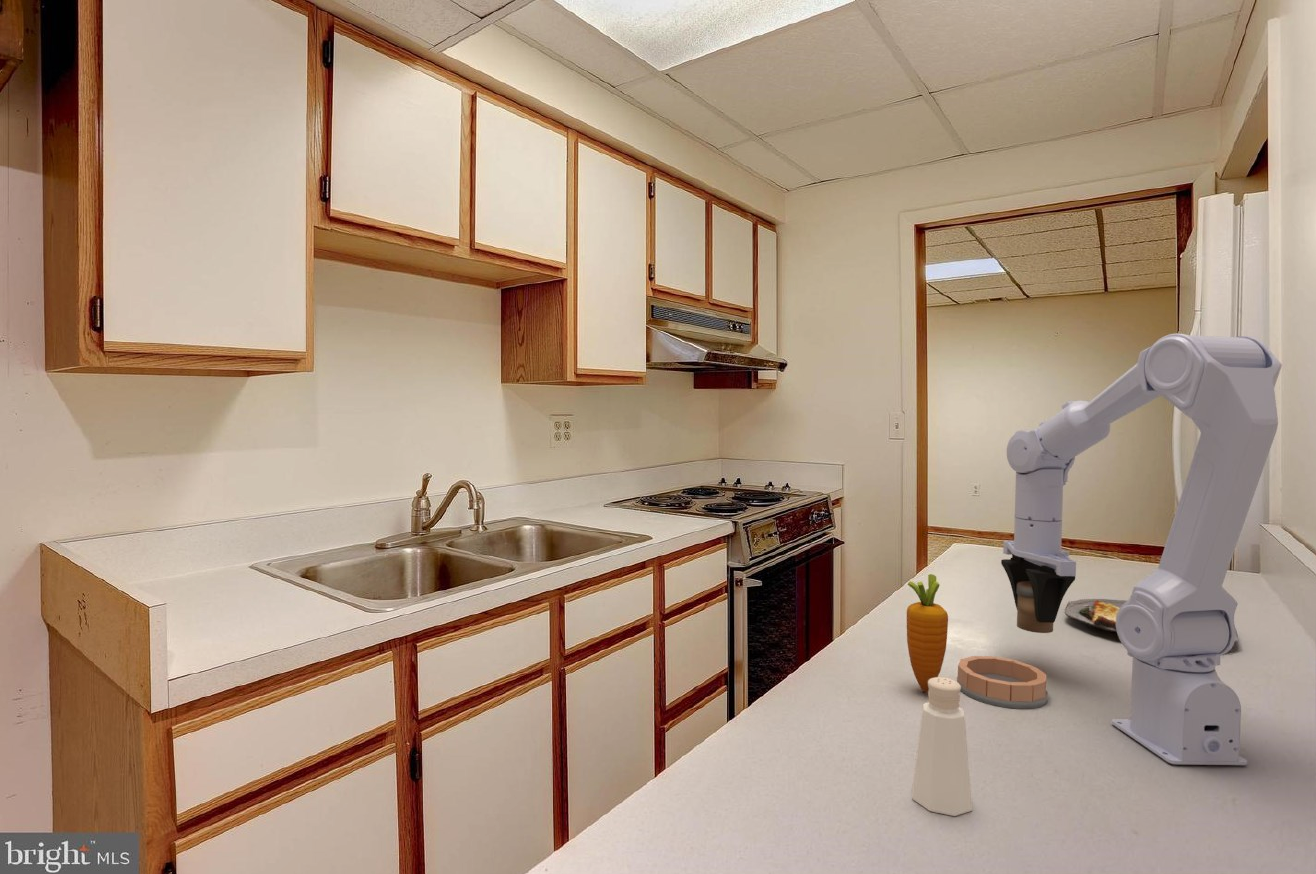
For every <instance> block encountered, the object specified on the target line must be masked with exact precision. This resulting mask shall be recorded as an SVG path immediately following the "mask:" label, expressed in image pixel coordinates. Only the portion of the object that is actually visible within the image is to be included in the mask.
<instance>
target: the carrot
mask: <svg viewBox="0 0 1316 874" xmlns="http://www.w3.org/2000/svg"><path fill="white" fill-rule="evenodd" d="M927 577H928V578H927V580H928V581H927V582H928V583H927V585H928V588H925V586H924V584H923V581H917V582H916V583H917V584H916V583H915V582H914V581H911V580H910V581H908V583H907V585H908V586H909V587H910V588H911V589H913V591H914V592H915V594H916V595H917V596H918V598H919V601H917V602H914V603H912V604H909V605H908V606H907V609H906V641H907V642H906V643H907V649H908V650H907V651H908V656H909V661H910V665H911V669H912V672H913V675H914V677H915V679H916V681H917V684H918V686H919V688H920V689H921V690H922V692H923V693H929V692H928V690H929V687H928V680H929V679H931V678H935V677H939V675H940V673H941V670H942V668H943V663H944V659H945V655H946V650H947V641H948V639H947V638H948V628H949V615H948V612H947V611H946V610H945V608H943V607H942V606H941V605H940V604H938V603H934V601H935V596H936V594H937V592H938V590H939V587H940V582H938V581H937V576H936V574H934V573H930V574H928V576H927Z"/></svg>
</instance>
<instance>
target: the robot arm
mask: <svg viewBox="0 0 1316 874" xmlns="http://www.w3.org/2000/svg"><path fill="white" fill-rule="evenodd" d="M1282 366H1283V365H1282V363H1281V362H1280V360H1279V359H1278V358H1277V357H1276V356H1275V354H1273V352H1272V351H1271V349H1270V348H1269V347H1268V346H1267V345H1266V344H1265V343H1264V342H1263V341H1261V340H1260V339H1258V338H1256V337H1253V336H1248V335H1246V336H1245V335H1237V336H1234V337H1233V336H1215V335H1213V336H1211V335H1209V336H1208V335H1191V334H1190V335H1188V334H1186V333H1169V334H1167V335H1165V336H1162V337H1161V338H1159V339H1157V340H1156V341H1155V342H1154V343H1153V344H1152V346H1149V347H1147V348H1146V349H1143V350H1141V351H1140V352H1139V356H1138V359H1137V363H1135V364H1134V366H1132V367H1131V368H1129V369H1128V370H1127V371H1126V372H1124V373H1123V374H1122V375H1120V377H1118V378H1117V379H1116V380H1115V381H1113V382H1112V383H1111V384H1109V386H1107V387H1106V388H1105V389H1104V390H1102V392H1100V393H1099V394H1097V396H1095V397H1093V399H1091V400H1090V401H1087V400H1076V401H1070V400H1069V401H1066V402H1065V403H1064V404H1062V405H1061V407H1062V408H1061V409H1062V410H1059V412H1057V413H1056V414H1055V415H1053V416H1051V417H1050V418H1048V419H1047V420H1043V421H1042V422H1040V423H1038V427H1036V428H1035V429H1031V430H1025V429H1022V430H1021V429H1020V430H1016V432H1014V434H1013V435H1012V436H1011V437H1010V438H1009V440H1008V443H1007V446H1006V459H1007V462H1008V464H1009V466H1010V467H1011V468H1012V470H1013V471H1014V472H1015V491H1014V492H1015V498H1014V502H1015V503H1014V530H1013V531H1014V533H1013V536H1014V537H1013V540H1003V549H1002V551H1003V554H1005V555H1008V556H1009V555H1011V557H1010V559H1009V558H1007V559H1004V558H1003V559H1001V560H1000V561H1001V562H1000V563H1001V566H1002V567H1003V569H1004V571H1005V574H1006V575H1007V578H1008V580H1009V584H1010V588H1011V590H1012V594H1013V598H1014V605H1015V607H1016V609H1017V603H1018V594H1017V583H1018V582H1021V581H1030V583H1031V586H1032V590H1033V595H1034V606H1035V615H1036V619H1037V621H1038V622H1043V623H1053V624H1054V623H1055V621H1056V619H1057V617H1058V613H1059V611H1060V610H1059V609H1060V606H1061V604H1062V601H1063V599H1064V597H1065V595H1066V593H1067V591H1068V589H1069V588H1070V587H1071V586H1072V584H1073V583H1074V582H1075V580H1076V576H1077V561H1075V560H1074V559H1071V558H1069V556H1070V552H1069V551H1068V550H1065V549H1063V548H1062V539H1063V537H1062V536H1063V529H1062V528H1063V502H1064V501H1063V497H1064V486H1065V485H1066V483H1067V482H1068V474H1069V471H1070V470H1071V468H1072V467H1073V465H1074V462H1075V460H1076V457H1077V456H1079V455H1080V454H1082V453H1083V452H1085V451H1087V450H1089V449H1090V448H1092V447H1093V446H1095V445H1096V444H1098V443H1100V442H1101V441H1103V440H1104V439H1106V438H1107V437H1108V436H1109V434H1110V430H1111V424H1112V423H1114V422H1115V421H1118V420H1120V419H1122V418H1123V417H1125V416H1127V415H1129V414H1131V413H1132V412H1134V411H1136V410H1138V409H1139V408H1142V407H1143V406H1145V405H1147V404H1149V403H1151V402H1153V401H1154V400H1156V399H1157V398H1159V397H1161V396H1162V397H1163V398H1164V399H1165V400H1166V401H1168V402H1169V403H1170V404H1172V405H1173V406H1174V407H1175V408H1176V409H1178V410H1179V411H1181V412H1182V413H1183V414H1184V415H1186V416H1187V417H1188V418H1189V419H1191V420H1192V422H1193V423H1194V424H1195V426H1196V427H1197V429H1198V430H1199V432H1200V435H1199V439H1198V442H1197V445H1196V448H1195V451H1194V453H1193V457H1192V460H1191V463H1190V466H1189V470H1188V472H1187V477H1186V479H1185V482H1184V486H1183V489H1182V491H1181V495H1180V498H1179V501H1178V504H1177V508H1176V510H1175V513H1174V517H1173V520H1172V524H1171V527H1170V528H1169V533H1168V535H1167V539H1166V541H1165V545H1164V548H1163V552H1162V554H1161V557H1160V561H1159V564H1158V567H1157V568H1156V569H1155V570H1154V571H1153V572H1152V573H1150V574H1149V575H1147V576H1145V577H1144V578H1143V579H1141V580H1140V581H1139V582H1137V583H1136V584H1135V585H1134V586H1133V588H1132V591H1131V592H1132V593H1131V595H1130V597H1129V598H1128V599H1127V602H1126V603H1124V604H1123V605H1122V606H1121V607H1120V609H1119V610H1118V612H1117V616H1116V630H1117V632H1116V633H1117V637H1118V639H1119V641H1120V642H1121V644H1122V646H1123V647H1124V649H1125V650H1126V651H1127V652H1126V653H1127V656H1129V657H1130V658H1131V657H1132V661H1131V664H1132V665H1131V690H1130V692H1131V694H1130V717H1129V718H1130V719H1128V718H1127V719H1126V718H1123V719H1122V718H1119V719H1118V718H1113V719H1111V722H1110V723H1111V725H1113V726H1114V727H1116V728H1118V729H1119V730H1121V732H1123V733H1125V734H1126V735H1128V736H1129V737H1131V738H1132V739H1134V740H1135V741H1136V742H1138V743H1140V745H1142V746H1143V747H1145V748H1146V749H1148V750H1149V751H1151V752H1152V753H1154V754H1155V755H1156V756H1158V757H1160V758H1161V759H1162V760H1164V761H1165V762H1167V763H1169V764H1170V765H1171V764H1172V765H1190V766H1191V765H1193V766H1195V765H1197V766H1199V765H1200V766H1202V765H1203V766H1204V765H1205V766H1206V765H1207V766H1213V765H1214V766H1247V765H1248V759H1245V758H1244V757H1243V756H1241V755H1240V746H1241V745H1240V743H1241V718H1242V705H1241V702H1240V699H1239V697H1238V695H1237V693H1236V692H1235V690H1234V689H1232V688H1231V686H1228V685H1227V684H1226V683H1225V682H1223V681H1222V680H1221V678H1220V676H1219V675H1218V673H1217V670H1216V666H1217V667H1218V666H1221V657H1222V656H1223V655H1226V654H1227V653H1228V652H1229V651H1230V650H1232V649H1233V647H1234V645H1235V643H1234V642H1235V638H1236V631H1237V629H1236V630H1235V628H1236V625H1235V613H1236V610H1237V607H1238V601H1237V600H1236V599H1235V598H1234V597H1233V596H1232V595H1231V594H1230V592H1228V591H1227V590H1226V589H1225V588H1224V587H1223V584H1224V581H1225V579H1226V575H1227V573H1228V571H1229V567H1230V565H1231V561H1232V559H1233V556H1234V553H1235V550H1236V547H1237V545H1238V542H1239V539H1240V536H1241V532H1242V531H1243V527H1244V526H1245V525H1244V524H1245V523H1246V522H1245V521H1246V518H1247V516H1248V513H1249V510H1250V508H1251V505H1252V502H1253V499H1254V497H1255V493H1256V491H1257V488H1258V485H1259V482H1260V479H1261V477H1262V473H1263V471H1264V467H1265V465H1266V463H1267V459H1268V457H1269V454H1270V451H1271V448H1272V446H1273V442H1274V440H1275V436H1276V434H1277V430H1278V424H1279V420H1278V419H1279V417H1278V410H1277V401H1276V395H1275V394H1276V393H1275V387H1276V383H1277V381H1278V378H1279V375H1280V372H1281V369H1282Z"/></svg>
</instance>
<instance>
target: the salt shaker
mask: <svg viewBox="0 0 1316 874" xmlns="http://www.w3.org/2000/svg"><path fill="white" fill-rule="evenodd" d="M928 687H929V690H928V692H927V693H928V695H927V696H928V702H925V703H923V705H922V711H921V719H920V726H919V735H918V741H917V747H916V748H917V750H916V758H915V765H914V772H913V779H912V780H913V781H912V788H911V789H912V790H911V791H912V795H911V796H912V801H914V802H916V803H917V804H919V805H920V806H921V807H923V808H925V809H926V810H928V811H929V812H932V813H936V814H942V815H947V816H953V817H956V816H961V815H963V814H967V813H970V812H971V811H972V810H973V804H972V792H971V791H972V789H971V778H970V777H971V776H970V766H969V751H968V740H967V726H966V717H965V711H964V709H963V708H961V707H960V703H959V702H960V700H961V698H960V697H961V695H960V692H961V691H960V690H961V686H960V684H959V683H958V682H957V680H953V679H951V678H950V677H949V678H948V677H942V676H938V677H935V678H931V679H929V680H928Z"/></svg>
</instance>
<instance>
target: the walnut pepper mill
mask: <svg viewBox="0 0 1316 874" xmlns="http://www.w3.org/2000/svg"><path fill="white" fill-rule="evenodd" d="M1017 594H1018V603H1017V608H1016V615H1017V616H1016V627H1017V628H1019V629H1021V630H1023V631H1027V632H1030V633H1031V632H1032V633H1037V634H1038V633H1039V634H1049V633H1053V632H1054V623H1043V622H1038V621H1037V619H1036V615H1035V606H1034V595H1033V590H1032V586H1031V583H1030V581H1021V582H1018V583H1017Z"/></svg>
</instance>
